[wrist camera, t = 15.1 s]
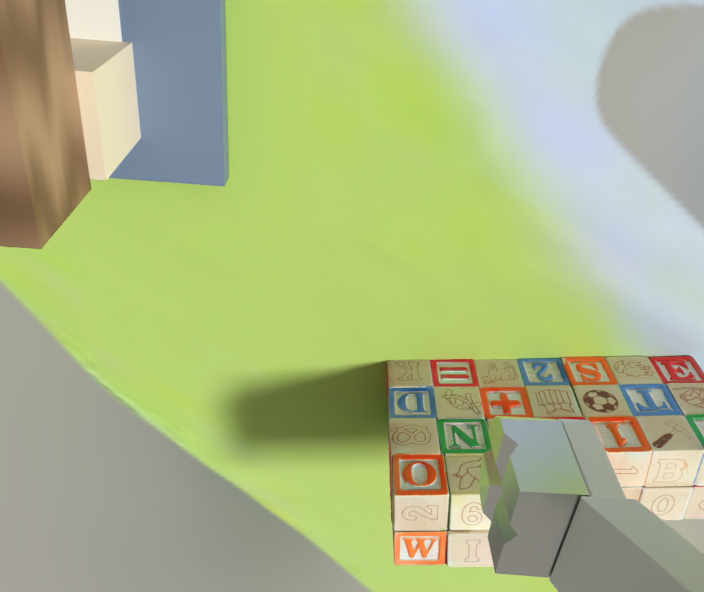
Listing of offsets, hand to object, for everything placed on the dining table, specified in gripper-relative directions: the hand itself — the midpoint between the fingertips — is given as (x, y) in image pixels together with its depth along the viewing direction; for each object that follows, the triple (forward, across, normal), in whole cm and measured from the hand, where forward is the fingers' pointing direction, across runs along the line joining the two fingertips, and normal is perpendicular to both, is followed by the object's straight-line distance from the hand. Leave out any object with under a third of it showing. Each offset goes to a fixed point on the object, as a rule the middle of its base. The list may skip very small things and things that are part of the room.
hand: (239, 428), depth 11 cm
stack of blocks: (+30, -17, +23) cm, 41 cm away
